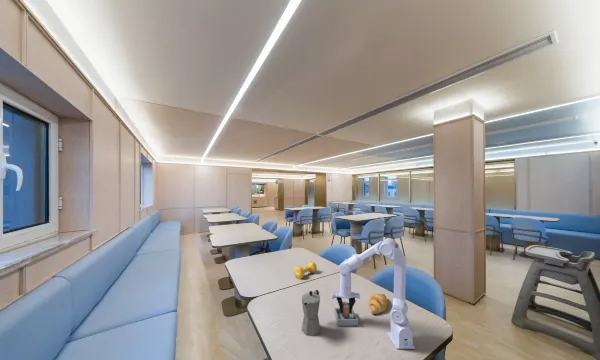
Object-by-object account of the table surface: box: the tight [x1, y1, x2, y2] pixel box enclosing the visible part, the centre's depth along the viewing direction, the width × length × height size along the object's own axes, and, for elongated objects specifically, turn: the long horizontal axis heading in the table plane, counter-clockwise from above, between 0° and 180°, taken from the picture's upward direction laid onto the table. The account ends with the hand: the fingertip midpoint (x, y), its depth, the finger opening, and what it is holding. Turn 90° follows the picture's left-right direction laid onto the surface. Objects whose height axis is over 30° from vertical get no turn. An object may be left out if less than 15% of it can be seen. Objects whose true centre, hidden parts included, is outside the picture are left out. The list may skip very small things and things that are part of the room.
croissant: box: [368, 293, 389, 315], centre depth 117 cm, size 21×10×8 cm, turn 142°
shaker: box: [342, 301, 350, 318], centre depth 106 cm, size 4×4×6 cm
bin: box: [333, 307, 359, 327], centre depth 105 cm, size 10×10×3 cm
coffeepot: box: [301, 289, 321, 337], centre depth 99 cm, size 15×9×18 cm, turn 151°
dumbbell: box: [293, 261, 318, 280], centre depth 159 cm, size 19×9×8 cm, turn 134°
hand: (345, 312), depth 105 cm, fingers closed on shaker, 4 cm apart
